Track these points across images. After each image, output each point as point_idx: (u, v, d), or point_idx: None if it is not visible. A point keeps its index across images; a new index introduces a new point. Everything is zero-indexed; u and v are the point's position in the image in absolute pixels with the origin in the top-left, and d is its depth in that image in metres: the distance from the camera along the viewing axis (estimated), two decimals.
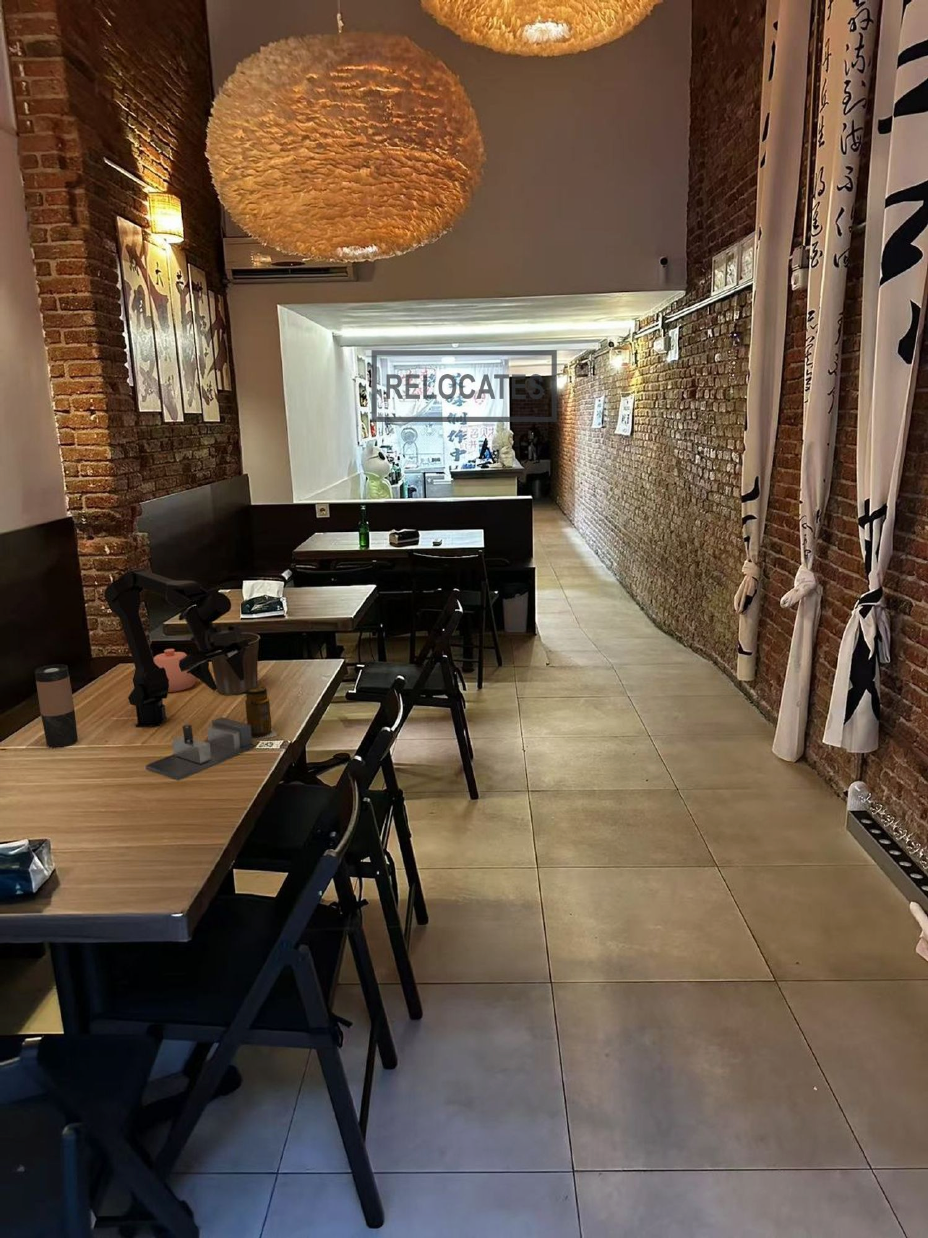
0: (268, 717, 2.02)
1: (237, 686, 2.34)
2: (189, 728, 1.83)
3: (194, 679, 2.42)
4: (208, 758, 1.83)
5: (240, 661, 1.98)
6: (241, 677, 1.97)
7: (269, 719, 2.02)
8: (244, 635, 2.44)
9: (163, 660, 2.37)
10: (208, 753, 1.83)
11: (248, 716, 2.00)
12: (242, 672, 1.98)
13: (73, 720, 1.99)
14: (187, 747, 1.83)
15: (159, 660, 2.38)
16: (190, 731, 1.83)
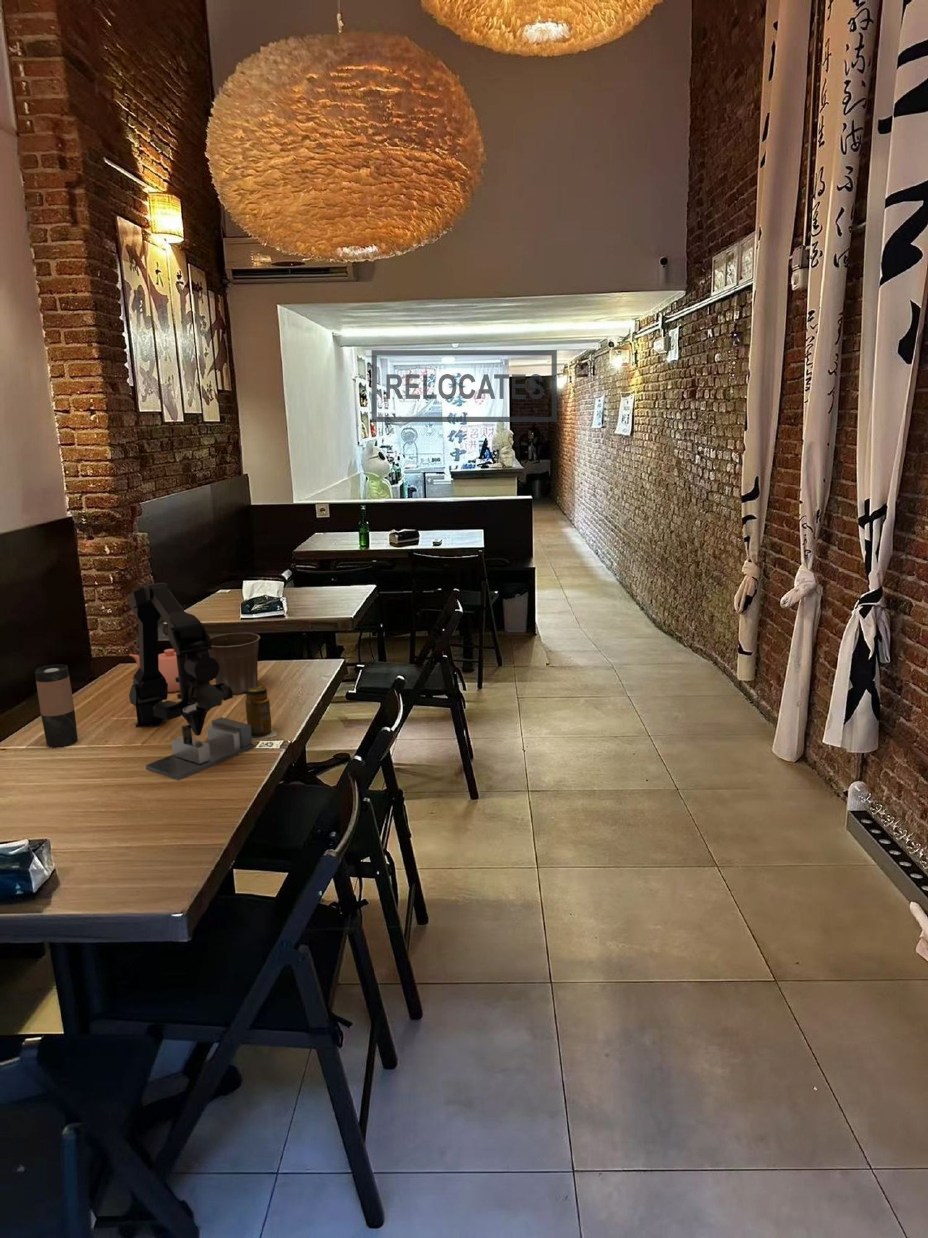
0: (268, 717, 2.02)
1: (237, 686, 2.34)
2: (188, 728, 1.83)
3: None
4: (207, 758, 1.83)
5: (203, 716, 1.85)
6: None
7: (269, 719, 2.02)
8: (244, 635, 2.44)
9: (163, 660, 2.37)
10: (207, 753, 1.83)
11: (248, 716, 2.00)
12: (201, 728, 1.86)
13: (73, 720, 1.99)
14: (186, 748, 1.83)
15: (159, 660, 2.38)
16: (189, 731, 1.83)
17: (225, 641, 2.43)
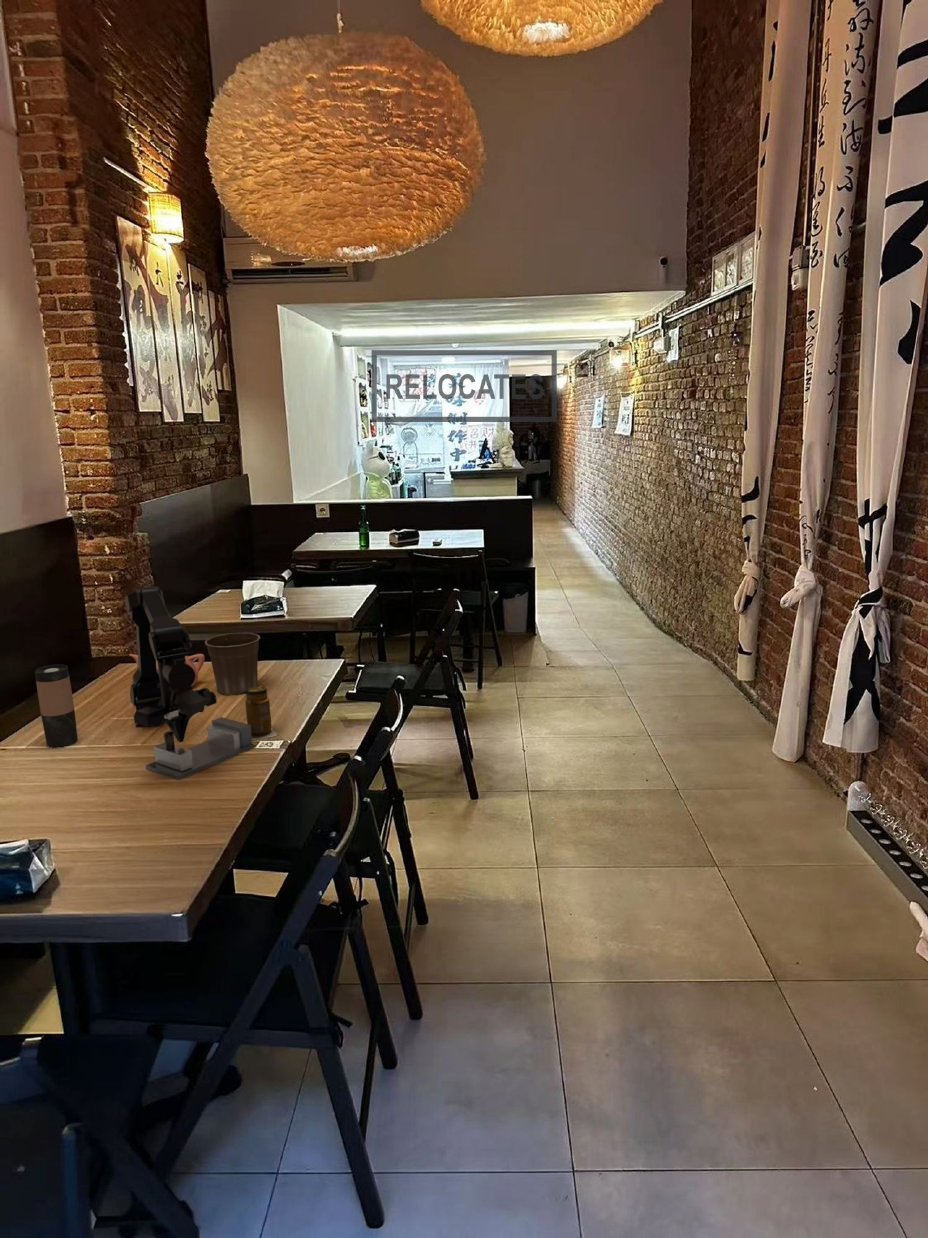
0: (268, 717, 2.02)
1: (237, 686, 2.34)
2: (170, 735, 1.79)
3: None
4: (190, 766, 1.79)
5: (185, 723, 1.81)
6: None
7: (269, 719, 2.02)
8: (244, 635, 2.44)
9: None
10: (190, 760, 1.79)
11: (248, 716, 2.00)
12: (183, 735, 1.82)
13: (73, 720, 1.99)
14: (168, 755, 1.79)
15: None
16: (171, 738, 1.79)
17: (225, 641, 2.43)
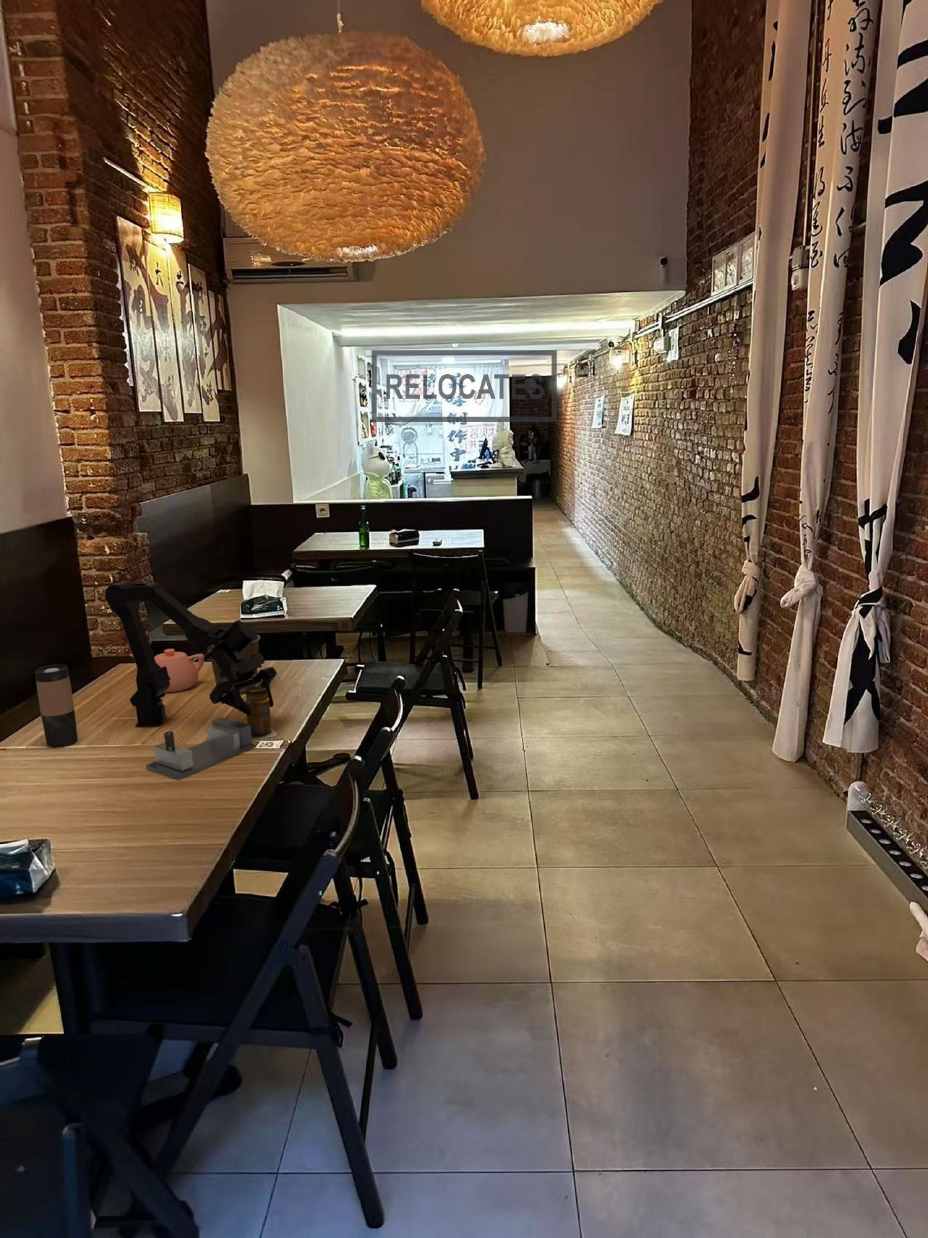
0: (268, 717, 2.02)
1: None
2: (171, 735, 1.79)
3: (194, 679, 2.42)
4: (190, 766, 1.79)
5: (267, 688, 2.05)
6: (270, 703, 2.04)
7: (269, 719, 2.02)
8: None
9: (163, 660, 2.37)
10: (190, 760, 1.79)
11: (248, 716, 2.00)
12: (271, 698, 2.04)
13: (73, 720, 1.99)
14: (168, 755, 1.79)
15: (159, 660, 2.38)
16: (172, 738, 1.79)
17: None
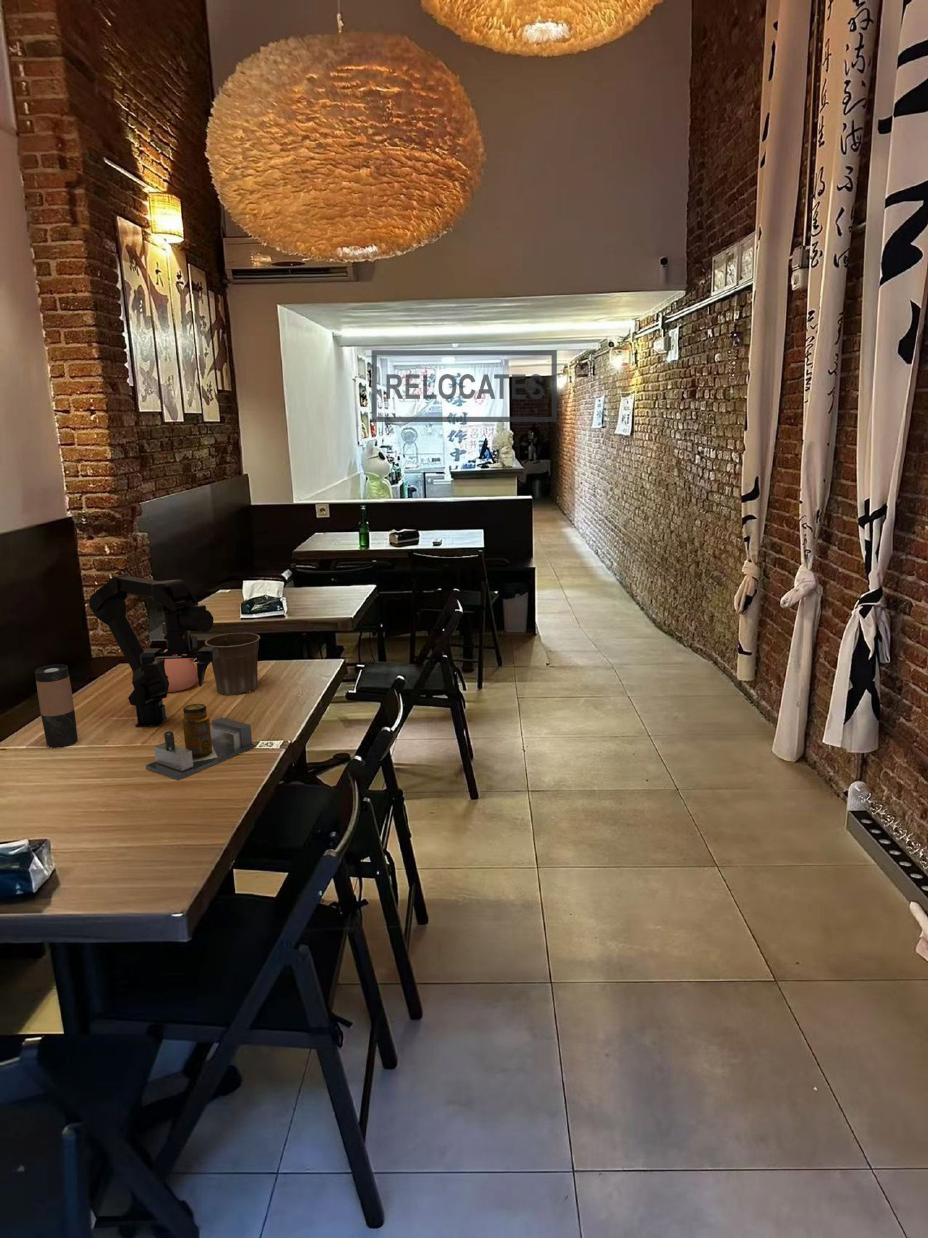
0: (207, 737, 1.86)
1: (237, 686, 2.34)
2: (171, 735, 1.79)
3: (194, 679, 2.42)
4: (190, 766, 1.79)
5: None
6: (166, 684, 2.04)
7: (209, 739, 1.87)
8: (244, 635, 2.44)
9: None
10: (190, 760, 1.79)
11: (185, 736, 1.85)
12: None
13: (73, 720, 1.99)
14: (168, 755, 1.79)
15: None
16: (172, 738, 1.79)
17: (225, 641, 2.43)
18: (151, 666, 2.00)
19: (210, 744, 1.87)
